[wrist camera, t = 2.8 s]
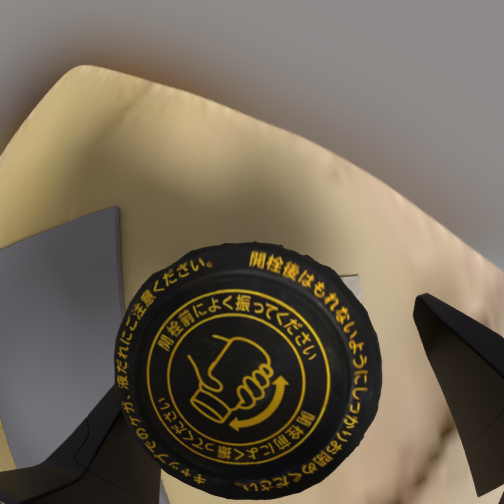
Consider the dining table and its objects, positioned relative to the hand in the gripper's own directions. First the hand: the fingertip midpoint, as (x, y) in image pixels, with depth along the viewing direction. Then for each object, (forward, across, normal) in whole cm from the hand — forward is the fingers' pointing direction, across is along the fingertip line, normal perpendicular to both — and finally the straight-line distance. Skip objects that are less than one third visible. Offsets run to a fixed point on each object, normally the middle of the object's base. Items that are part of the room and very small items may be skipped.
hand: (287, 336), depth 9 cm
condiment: (+5, 0, +6) cm, 8 cm away
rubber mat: (+4, +19, +6) cm, 20 cm away
